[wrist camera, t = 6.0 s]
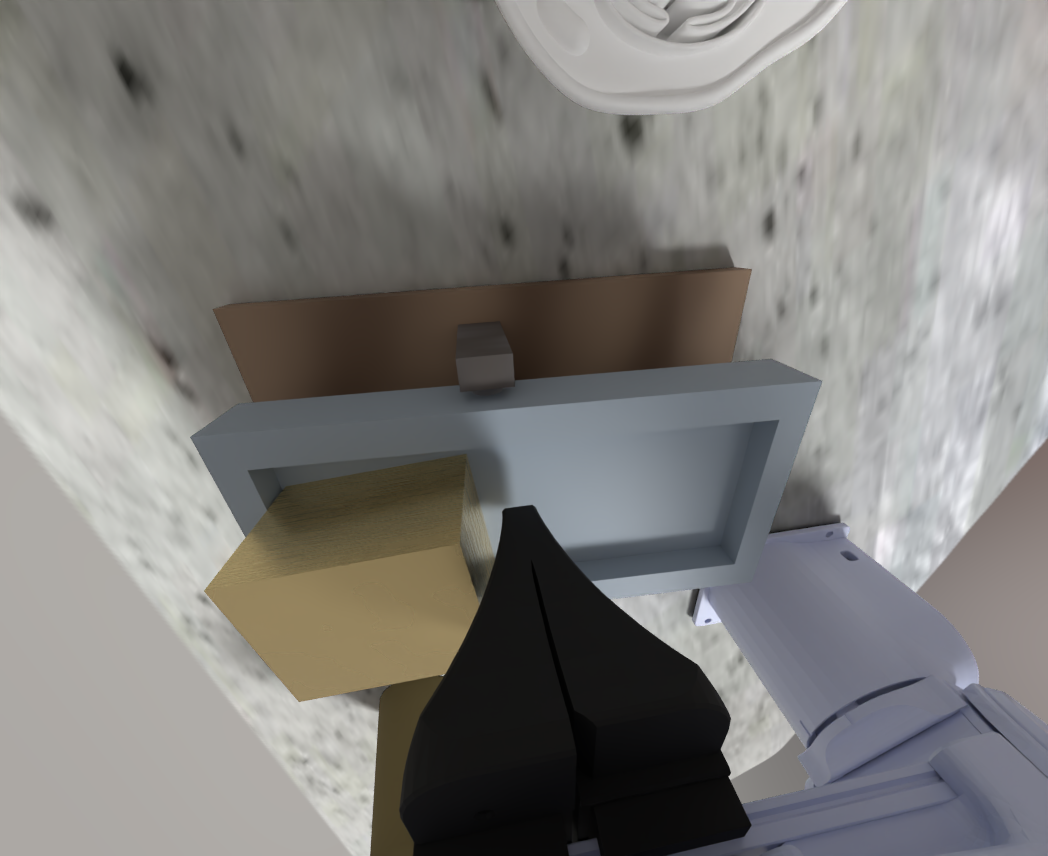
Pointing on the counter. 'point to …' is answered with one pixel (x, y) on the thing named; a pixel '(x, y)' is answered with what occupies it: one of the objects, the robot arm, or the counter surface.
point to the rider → (361, 577)
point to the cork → (395, 762)
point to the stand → (484, 333)
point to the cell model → (659, 47)
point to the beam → (560, 460)
